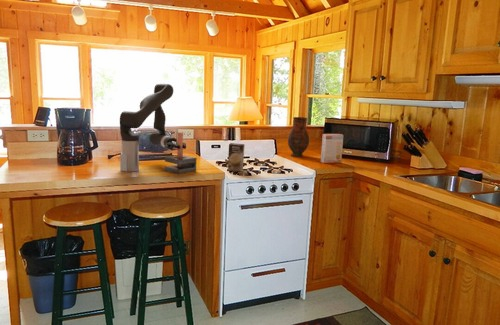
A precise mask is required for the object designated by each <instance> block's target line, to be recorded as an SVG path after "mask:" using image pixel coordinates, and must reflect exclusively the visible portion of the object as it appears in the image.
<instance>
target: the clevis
mask: <svg viewBox="0 0 500 325" xmlns="http://www.w3.org/2000/svg"><path fill="white" fill-rule="evenodd" d="M164 162H167V163H170V164H172V165H165V166H164V171H165V172H168V173H173V174H177V175H184V174H187V173H192V172H197V157H195V156H190V155H186V154H183V158H181V159H179V158H177V155H171V156H165V157H164ZM177 164H178V165H181V164H182V167H177Z"/></svg>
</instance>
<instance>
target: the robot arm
mask: <svg viewBox="0 0 500 325" xmlns="http://www.w3.org/2000/svg"><path fill="white" fill-rule="evenodd" d="M173 94H174V87H173V86H172V85H171V84H169V83H156V85H155V86H154V88H153V93H152V94H149V95H147V96H145V97H144V98H143V99H142V100H141V101H140V102H139V110H137V111H130V110H129V111H127V110H126V111H125V110H124V111H122V112H121V113H120V116H119V134H120V137H121V153H120V154H119V159H120V160H119V162H120V163H119V164H120V165H119V167H120V171H122V172H126V173H128V172H129V173H131V172H138V171H139V170H140V155H139V154H140V143H139V142H140V140H139V139H140V137H139V135H138V134H137V133H135V132H133V130H132V129H138V128H140V127H141V126H142V125H143V123H144V122H146V120H147V118H148V117H149V116H151V114H153V113H154V118H153V120H154V121H153V129H154V130H156V131H158V133H157V132H152V133H151V134H150V135H149V137H148V139H149V142H150V143H151V144H152V145H157V146H161V147H163V148H164V149H167V150H169V151H174V150H175V149H180V145H177V144H178V138H177V139H176V138H175V137H173V136H170V135H167V134H166V128H165V126H166V120H167V118H166V114H165V112H164V110H163V107H162V104H163V103H165V102H167V101H168V100H169V99H171V98H172V97H173ZM186 143H187V142H185V141H183V150H186V149H187V144H186Z"/></svg>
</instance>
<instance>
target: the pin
mask: <svg viewBox="0 0 500 325" xmlns="http://www.w3.org/2000/svg"><path fill="white" fill-rule="evenodd" d="M177 141H178V144H177V145H180V149H177V148H176V149H177V150H176V151H177V154H176V156H177V158H179V159H181V158H183V155H184V151H183V150H184V149H183V142H184V132H182V131H181V132H177ZM176 165H177V167H182V164H181V165H178V164H176Z"/></svg>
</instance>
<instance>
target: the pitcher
mask: <svg viewBox="0 0 500 325" xmlns="http://www.w3.org/2000/svg"><path fill="white" fill-rule="evenodd" d="M292 118H293V119H292V120H293V121H292V128H291V131H290V133H289V134H288V138H287V145H288V146H287V147H288V148H289V150H290V151H291V152H292V154H290V157H293V158H304V157H305V156H304V154H303V153H304V152H306V150H307V148H308V147H309V146H310V136H309V134H308V131H307V121H308V118H307V117H304V116H301V117H298V116H294V117H292Z"/></svg>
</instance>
